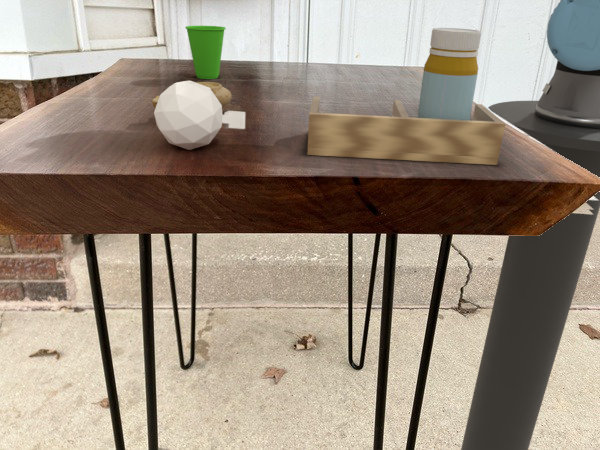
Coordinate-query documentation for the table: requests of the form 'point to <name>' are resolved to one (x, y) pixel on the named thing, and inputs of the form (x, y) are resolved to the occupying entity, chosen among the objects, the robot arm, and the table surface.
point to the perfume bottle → (193, 115)
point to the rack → (406, 136)
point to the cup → (206, 49)
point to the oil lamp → (217, 89)
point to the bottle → (450, 74)
